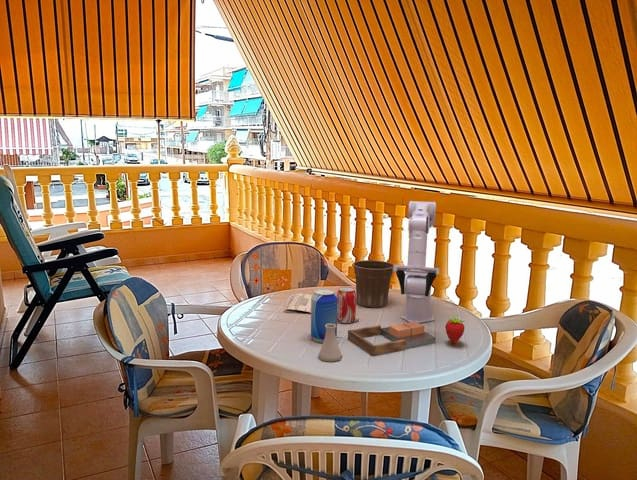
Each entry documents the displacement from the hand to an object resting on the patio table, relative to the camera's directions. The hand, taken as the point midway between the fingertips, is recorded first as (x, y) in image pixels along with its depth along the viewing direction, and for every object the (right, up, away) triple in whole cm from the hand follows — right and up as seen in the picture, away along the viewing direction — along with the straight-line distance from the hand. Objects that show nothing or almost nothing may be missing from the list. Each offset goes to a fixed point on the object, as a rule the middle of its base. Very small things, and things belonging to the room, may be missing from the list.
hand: (414, 295), depth 164 cm
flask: (-27, -17, -12) cm, 34 cm away
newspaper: (-38, -9, +38) cm, 54 cm away
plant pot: (-9, -8, +41) cm, 43 cm away
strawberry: (+13, -16, 0) cm, 20 cm away
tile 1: (-4, -13, +2) cm, 14 cm away
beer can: (-29, -15, +3) cm, 33 cm away
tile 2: (+1, -12, +5) cm, 13 cm away
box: (-12, -15, -1) cm, 19 cm away
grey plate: (-2, -15, +4) cm, 15 cm away
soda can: (-21, -12, +20) cm, 31 cm away
